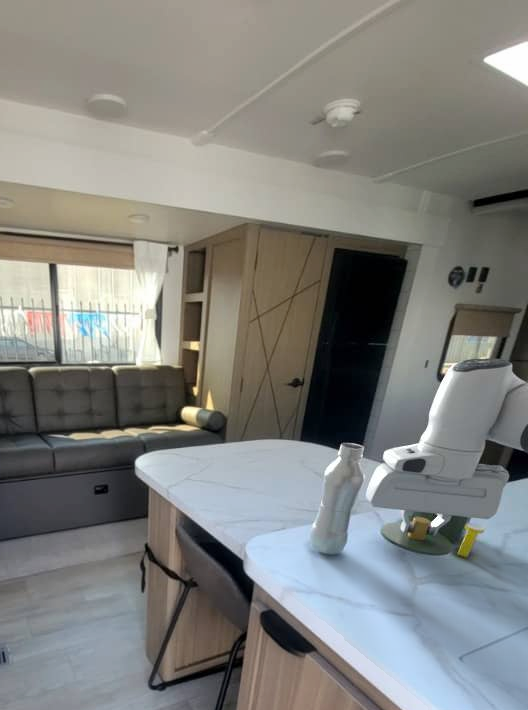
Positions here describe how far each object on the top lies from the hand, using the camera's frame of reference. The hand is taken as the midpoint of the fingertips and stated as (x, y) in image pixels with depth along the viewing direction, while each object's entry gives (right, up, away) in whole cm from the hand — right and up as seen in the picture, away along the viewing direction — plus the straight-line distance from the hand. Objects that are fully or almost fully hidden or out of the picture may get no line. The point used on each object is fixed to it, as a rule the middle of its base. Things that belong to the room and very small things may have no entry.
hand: (417, 532), depth 74 cm
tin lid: (0, -1, +1) cm, 2 cm away
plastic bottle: (-16, -3, +2) cm, 17 cm away
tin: (+10, 0, +10) cm, 14 cm away
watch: (+10, -4, +2) cm, 11 cm away
